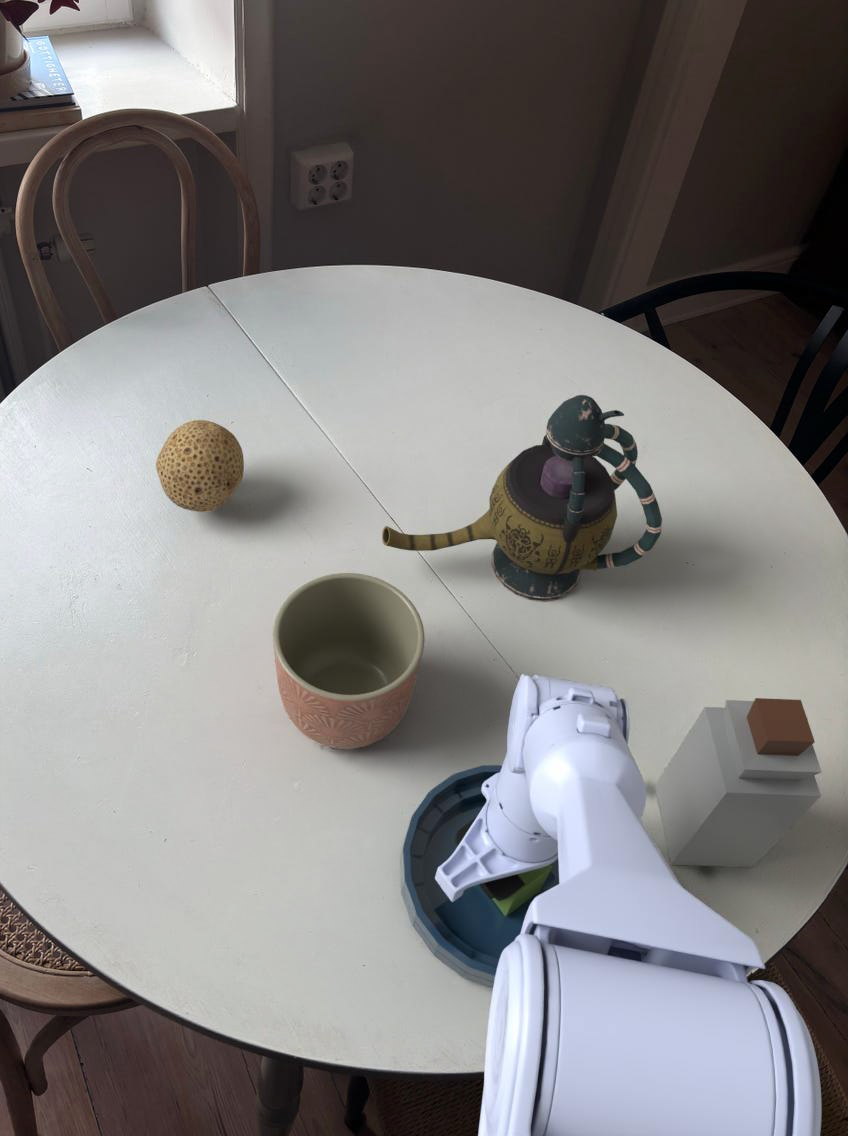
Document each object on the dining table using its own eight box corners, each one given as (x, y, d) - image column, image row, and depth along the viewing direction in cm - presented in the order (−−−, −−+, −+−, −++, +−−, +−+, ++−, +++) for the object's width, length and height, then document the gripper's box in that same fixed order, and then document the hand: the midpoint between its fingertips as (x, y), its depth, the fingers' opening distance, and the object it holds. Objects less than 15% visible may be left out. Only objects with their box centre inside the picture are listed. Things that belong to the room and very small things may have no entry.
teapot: (635, 611, 93) (711, 445, 75) (384, 617, 90) (403, 448, 73) (606, 518, 101) (669, 349, 83) (375, 522, 99) (390, 350, 81)
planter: (393, 781, 79) (403, 718, 71) (255, 741, 81) (250, 675, 73) (427, 661, 87) (439, 592, 79) (301, 627, 89) (301, 557, 81)
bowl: (641, 950, 71) (654, 935, 69) (445, 1024, 67) (451, 1012, 65) (548, 761, 81) (556, 742, 79) (372, 815, 77) (374, 797, 75)
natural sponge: (251, 528, 97) (247, 462, 90) (164, 539, 96) (152, 472, 88) (241, 466, 103) (236, 398, 96) (159, 475, 102) (147, 407, 94)
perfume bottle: (752, 867, 76) (848, 767, 63) (670, 864, 76) (749, 763, 62) (732, 788, 81) (817, 679, 67) (654, 785, 80) (724, 675, 67)
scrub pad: (540, 890, 73) (553, 866, 69) (505, 917, 72) (516, 894, 68) (499, 838, 76) (509, 812, 72) (464, 862, 74) (473, 837, 71)
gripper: (576, 697, 68) (540, 780, 78) (416, 804, 62) (400, 879, 72) (647, 774, 64) (600, 850, 74) (484, 896, 58) (457, 961, 68)
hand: (506, 870), depth 73 cm, fingers closed on scrub pad, 3 cm apart
